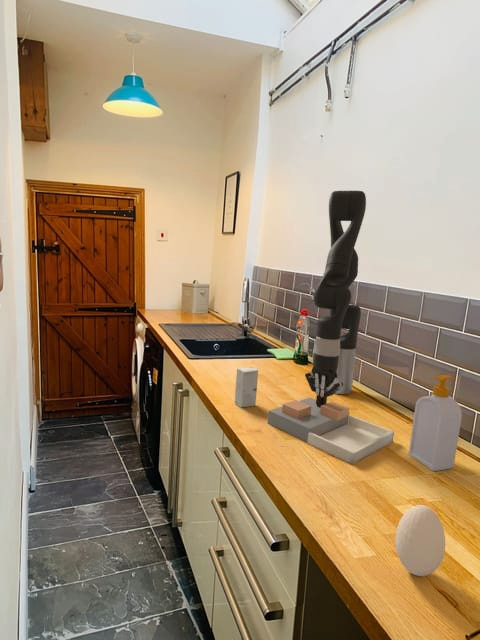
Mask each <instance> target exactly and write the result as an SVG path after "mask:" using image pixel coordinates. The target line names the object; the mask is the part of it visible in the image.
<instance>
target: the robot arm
mask: <svg viewBox="0 0 480 640" xmlns="http://www.w3.org/2000/svg"><path fill="white" fill-rule="evenodd" d="M366 209H367V196H366V193H365V191H362V190H334V191H332V192H331V194H330V196H329V199H328V219H329V232H330V249H329V252H328V254H327V258H326V263H325V267H324V268H325V269H324V272H323V275H322V277H321V279H320V281H319V283H318V284H317V286H316V288H315V291H314V294H313V296H312V297H313V303H314V305H315V306H316V307H317V308H320V309H326V310H329V316H328V315H327V316H321V317H318V319H317V323H316V332H315V333H316V334H315V340H314V345H313V352H312V353H313V356H312V362H311V363H312V368H311V371H309V372H306V373H305V374H304V376H305V379H306V381H307V382H308V383H307V384H308V386H309V388H310V390H311V392H313V393H315V394H316V398H315V399H316V405H317V407H319V408H321V406H322V405H324V404H327V403H328V402H327V401H328V398H329V397H331V396H334V395H335V394H337V395H349V394H351V392H352V390H353V383H354V376H355V359H356V351H357V342H358V333H359V328H360V323H361V315H362V313H361V312H362V311H361V307H360V305H357V304H351V301H352V292H351V290H350V288H349V287H351V285H352V284H353V283H354V282H355V280H356V279H357V277H358V273H359V256H358V253H357V251H356V249H355V246H356V243H357V240H358V237H359V234H360V230H361V227H362V225H363V221H364V217H365V214H366ZM342 222H350V224H349V226H348V227H347V228H346V229H345V230H344V228H343V225H342ZM342 329H343V330H348V332H347V333H345V334H343V335H341V333H342Z"/></svg>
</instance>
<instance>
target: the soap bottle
mask: <svg viewBox="0 0 480 640" xmlns="http://www.w3.org/2000/svg"><path fill="white" fill-rule="evenodd" d="M434 379H435V380H438V381H439V384H438V385H433V388H432V389H433V390H432V393H431V395H426V396H425V395H424V396H422V397H419V398H418V399H417V401H416V403H415V406H414V407H415V408H414V414H413V421H412V429H411V434H410V441H409V442H410V443H409V450H408V455H409V456H410V457H411V458H413V459H414V460H416V461H417V462H419V463H420V464H421V465H424V466H425V467H426V468H427V469H429V470H431V471H432V472H438V471H442V470H443V471H445V470H452V469H453V468H454V466H455V460H456V454H457V449H458V442H459V436H460V430H461V422H462V419H463V418H462V417H463V414H462V408H461V406H460V405H459V403H458V401H456V399H454V398H453V397H451V396H450V388H449V387H447V386H446V383H447V382H446V380H448V379H452V380H453V381H454V380H455V381H457V378H456V377H454V376H452V375H448V374H447V375H446V374H441V375H437V376H435V377H434Z"/></svg>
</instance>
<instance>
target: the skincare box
mask: <svg viewBox="0 0 480 640" xmlns="http://www.w3.org/2000/svg"><path fill="white" fill-rule="evenodd" d="M258 376H259V370H258V369H257V368H254V367H251V366H250V367H240V368H237V369H236V376H235V377H236V378H235V393H234V404H235V405H237V406H238V407H239V408H245V407H246V408H247V407H253V406H256V405H257V402H256V401H257V391H258V390H257V389H258V380H259V379H258V378H259V377H258Z"/></svg>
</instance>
